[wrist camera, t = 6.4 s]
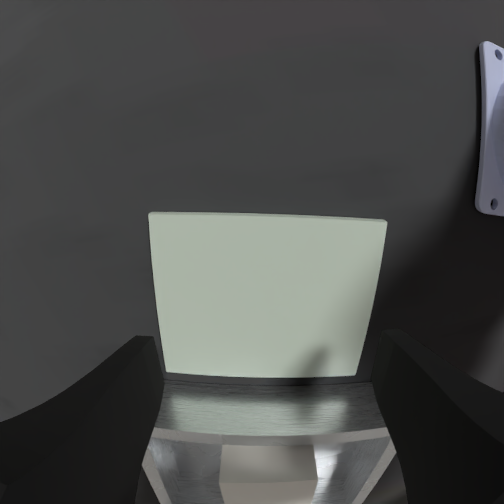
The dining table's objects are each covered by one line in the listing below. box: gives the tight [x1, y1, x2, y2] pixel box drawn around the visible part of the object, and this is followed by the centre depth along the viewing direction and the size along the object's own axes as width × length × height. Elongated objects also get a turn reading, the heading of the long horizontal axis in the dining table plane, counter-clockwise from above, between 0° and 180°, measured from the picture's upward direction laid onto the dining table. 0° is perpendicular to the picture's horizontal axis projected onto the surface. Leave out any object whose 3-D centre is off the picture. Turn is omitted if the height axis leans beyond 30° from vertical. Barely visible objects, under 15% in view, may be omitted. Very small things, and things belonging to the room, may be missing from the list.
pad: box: [148, 212, 387, 378], centre depth 13 cm, size 9×8×1 cm
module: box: [219, 445, 318, 504], centre depth 14 cm, size 4×6×4 cm
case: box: [142, 380, 396, 504], centre depth 15 cm, size 13×14×5 cm
